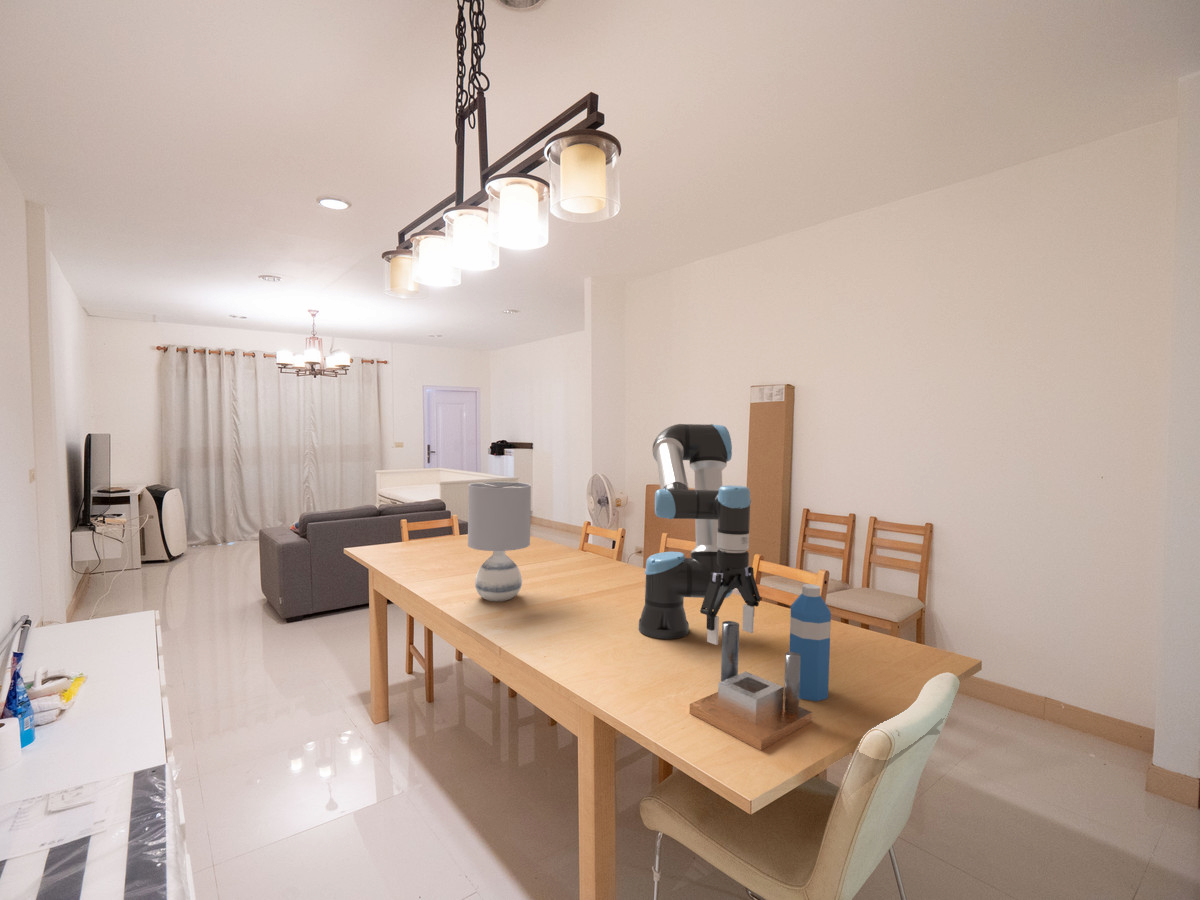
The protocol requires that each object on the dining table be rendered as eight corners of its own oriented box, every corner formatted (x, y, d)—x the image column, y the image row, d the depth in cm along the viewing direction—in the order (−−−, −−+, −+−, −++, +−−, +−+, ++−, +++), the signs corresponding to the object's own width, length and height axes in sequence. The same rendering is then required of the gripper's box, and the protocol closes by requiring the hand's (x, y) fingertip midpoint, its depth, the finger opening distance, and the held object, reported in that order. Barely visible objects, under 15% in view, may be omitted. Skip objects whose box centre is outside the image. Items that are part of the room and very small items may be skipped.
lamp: (524, 608, 192) (526, 488, 190) (460, 606, 192) (461, 487, 190) (532, 590, 213) (534, 482, 212) (475, 588, 213) (476, 481, 212)
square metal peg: (717, 679, 139) (719, 623, 139) (727, 675, 142) (729, 619, 141) (730, 685, 136) (732, 627, 136) (741, 681, 139) (742, 624, 138)
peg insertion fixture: (689, 713, 123) (691, 648, 122) (741, 690, 134) (742, 631, 133) (760, 750, 109) (763, 678, 108) (811, 721, 120) (813, 655, 120)
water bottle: (780, 683, 138) (783, 581, 137) (817, 682, 139) (821, 580, 138) (796, 701, 129) (800, 592, 128) (836, 700, 130) (840, 591, 129)
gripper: (711, 558, 127) (709, 653, 127) (776, 546, 143) (774, 631, 143) (686, 553, 133) (684, 643, 133) (751, 542, 149) (749, 623, 149)
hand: (730, 637), depth 138 cm, fingers open, 13 cm apart
